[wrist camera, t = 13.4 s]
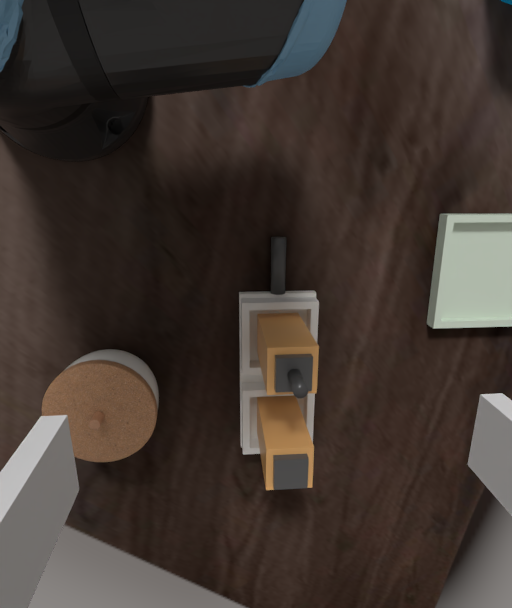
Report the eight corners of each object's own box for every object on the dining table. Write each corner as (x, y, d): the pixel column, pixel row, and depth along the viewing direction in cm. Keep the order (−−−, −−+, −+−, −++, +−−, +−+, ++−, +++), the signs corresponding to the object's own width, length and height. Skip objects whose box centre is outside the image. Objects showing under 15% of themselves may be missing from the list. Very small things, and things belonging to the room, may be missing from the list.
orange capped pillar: (257, 431, 49) (266, 496, 39) (257, 396, 48) (267, 454, 38) (294, 429, 49) (314, 493, 39) (295, 395, 48) (316, 452, 38)
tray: (426, 324, 48) (433, 328, 47) (439, 214, 45) (447, 214, 43) (528, 321, 49) (538, 325, 48) (548, 213, 46) (560, 214, 44)
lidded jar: (142, 434, 49) (125, 489, 40) (54, 399, 47) (15, 449, 38) (182, 359, 47) (173, 400, 38) (91, 319, 45) (59, 352, 36)
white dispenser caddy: (308, 439, 51) (341, 536, 37) (240, 442, 51) (248, 542, 36) (316, 236, 44) (362, 259, 30) (238, 236, 44) (247, 260, 30)
